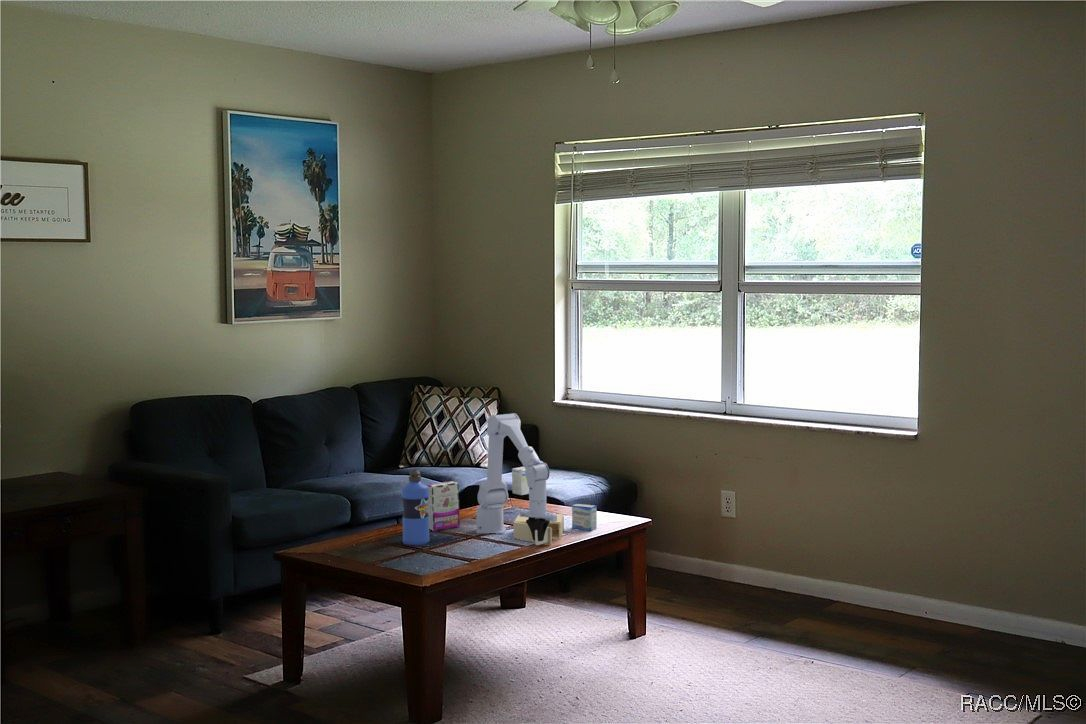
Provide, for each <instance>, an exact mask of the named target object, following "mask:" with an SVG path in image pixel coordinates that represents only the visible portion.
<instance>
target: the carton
mask: <svg viewBox="0 0 1086 724" xmlns="http://www.w3.org/2000/svg"><path fill="white" fill-rule="evenodd" d="M553 515H557V521H555V522H551V521H550V523H549V525H548V527H549V528H552V540H561V539H562V537H563V535H562V534H564V532H565V527H564V526H565V523H564V521H565V517H564V515H565V514H553ZM528 519H529V517H520V513H519V514H518V515H517V516H516V518H515V520H514V521H513V522H518V523H524V524H527V523H526V520H528ZM563 531H564V532H563ZM561 536H562V537H561Z"/></svg>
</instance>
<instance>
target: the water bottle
mask: <svg viewBox="0 0 1086 724" xmlns="http://www.w3.org/2000/svg"><path fill="white" fill-rule="evenodd" d="M408 474H409V476H408V483H407V484H405V485H403V486H401V491H400V492H401V493H400V494H401V500H402V507H403V510H402V543H403V544H404V545H407V546H420V545H421V546H422V545H425V544H426V543H427V544H429V543H430V530H429V514H428V508H427V507H428V496H429V486H427V485H428V484H424V483H423V482H422V476H421V472H420V471H419V470H418V469H416V468H415V469H411V471H409V472H408ZM428 542H429V543H428Z"/></svg>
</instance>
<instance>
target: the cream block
mask: <svg viewBox="0 0 1086 724" xmlns="http://www.w3.org/2000/svg"><path fill="white" fill-rule="evenodd" d="M512 522H513V539H514V538H516V539H515V540H519V539H521V540H520V541H525V540H526V541H525V542H532V543H534V545H535V546H539V545H542V544H543V545H548V546H552V545H553V539H552V528H549V527H547V529H546V532H545V535H544V540H543V541H538V535H537V530H535V541H534V540H533V537H532V533H531V530H530V528H529V526H528V524H524V523H518V522H514V521H512Z"/></svg>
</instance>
